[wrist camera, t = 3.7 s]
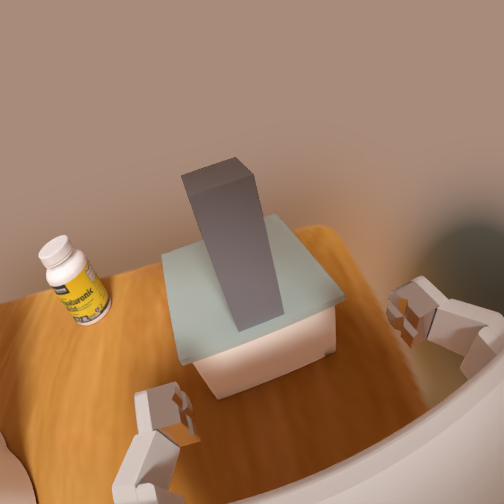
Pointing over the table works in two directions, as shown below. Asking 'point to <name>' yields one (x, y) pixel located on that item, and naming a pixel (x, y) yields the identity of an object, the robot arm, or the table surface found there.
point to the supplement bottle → (74, 281)
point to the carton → (270, 355)
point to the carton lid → (238, 269)
